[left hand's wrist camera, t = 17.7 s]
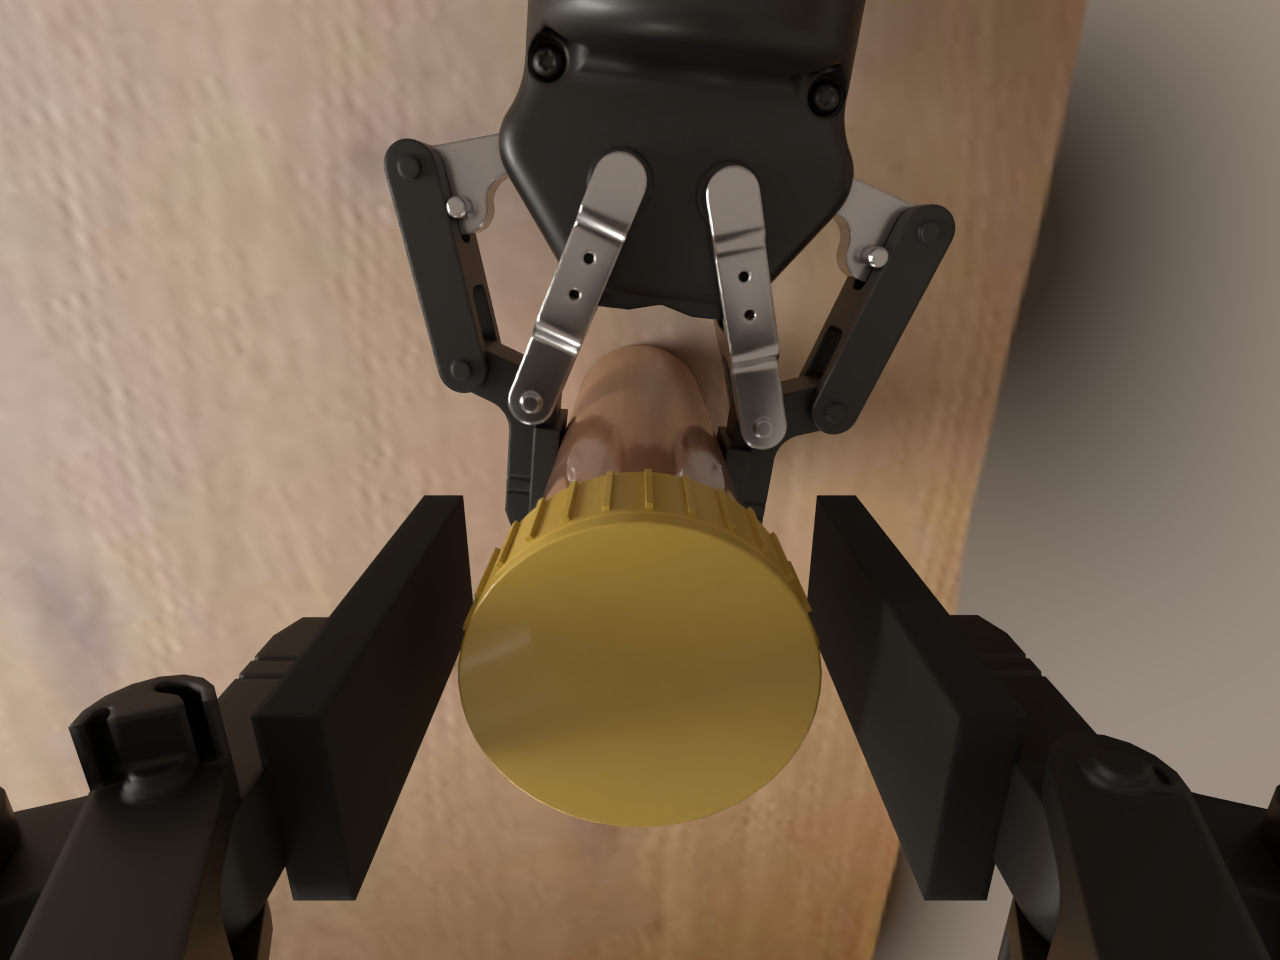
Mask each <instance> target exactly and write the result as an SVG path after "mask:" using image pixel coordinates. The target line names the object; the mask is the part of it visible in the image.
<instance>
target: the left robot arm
mask: <svg viewBox="0 0 1280 960" xmlns="http://www.w3.org/2000/svg"><path fill="white" fill-rule="evenodd" d="M807 600H808V602H809V604H810V607H811V609H812V611H811V612H808V615H809V617H810V620H811V622H812V624H813V627H814V629H815V632H816V634H817V636H818V639H819V649H820V652H821V654H822V657H823V659H824V661H825V664H826V666H827V669H828V671H829V673H830V676H831V678H832V680H833V683H834V685H835V688H836V690H837V692H838V695H839V697H840V700H841V702H842V704H843V707H844V709H845V712H846V714H847V716H848V719H849V721H850V723H851V726H852V728H853V731H854V733H855V735H856V738H857V740H858V743H859V745H860V747H861V750H862V752H863V754H864V757H865V759H866V762H867V764H868V766H869V769H870V771H871V774H872V776H873V778H874V781H875V783H876V786H877V788H878V790H879V793H880V795H881V797H882V800H883V802H884V805H885V807H886V809H887V812H888V814H889V817H890V819H891V821H892V824H893V826H894V829H895V831H896V833H897V836H898V838H899V840H900V843H901V845H902V848H903V850H904V852H905V855H906V857H907V859H908V862H909V864H910V867H911V869H912V871H913V874H914V876H915V879H916V881H917V883H918V886H919V888H920V891H921V893H922V895H923V898H924V900H987V897H988V892H989V888H990V884H991V880H992V875H993V871H994V867H995V864H996V866H997V867H998V869H999V871H1000V873H1001V875H1002V877H1003V878H1004V880H1005V882H1006V884H1007V885H1008V887H1009V889H1010V891H1011V893H1012V895H1013V899H1012V904H1011V907H1010V911H1009V915H1008V919H1007V923H1006V927H1005V931H1004V935H1003V939H1002V943H1001V947H1000V951H999V955H998V960H1280V785H1278V786H1277V787H1276V790H1275V792H1274V795H1273V797H1272V800H1271V802H1270V805H1269V807H1268V809H1264V808H1260V807H1255V806H1251V805H1246V804H1242V803H1237V802H1232V801H1228V800H1223V799H1219V798H1214V797H1210V796H1205V795H1201V794H1197V793H1193V792H1191V791H1190V789H1189V788H1188V786H1187V785H1186V784H1185V783H1184V781H1183V780H1182V779H1181V777H1180V776H1179V775H1178V773H1177V772H1176V771H1174V770H1173V769H1172V768H1170V767H1169V766H1168V765H1167V764H1165V763H1164V762H1163V761H1161V760H1160V759H1159V758H1158V757H1156V756H1155V755H1153V754H1151V753H1149V752H1147V751H1145V750H1143V749H1141V748H1139V747H1137V746H1135V745H1133V744H1131V743H1128V742H1125V741H1122V740H1118V739H1115V738H1112V737H1109V736H1105V735H1098V734H1096V733H1095V732H1094V731H1093V729H1092V728H1091V727H1090V726H1089V725H1088V724H1087V723H1086V722H1085V720H1084V719H1083V718H1082V717H1081V716H1080V715H1079V714H1078V713H1077V712H1076V710H1075V709H1074V708H1073V707H1072V706H1071V705H1070V704H1069V702H1068V701H1067V700H1066V699H1065V698H1064V697H1063V696H1062V695H1061V693H1060V692H1059V691H1058V690H1057V689H1056V688H1055V687H1054V686H1053V684H1052V683H1051V682H1050V681H1049V680H1048V679H1047V678H1046V677H1045V676H1042V675H1041V671H1040V670H1039V669H1038V668H1037V666H1036V665H1035V664H1034V663H1033V662H1032V661H1031V660H1030V659H1029V658H1028V659H1027V658H1026V654H1025V653H1024V652H1023V651H1022V650H1021V649H1020V647H1019V646H1018V645H1017V644H1016V643H1015V642H1014V641H1013V639H1012V638H1011V637H1010V636H1009V635H1008V634H1007V633H1006V632H1004V631H1003V630H1001V629H999V628H998V627H996V626H995V625H993V624H991V623H990V622H988V621H986V620H985V619H983V618H982V617H980V616H978V615H949V614H948V613H947V611H946V610H945V609H944V607H943V606H942V605H941V604H940V602H939V601H938V600H937V599H936V597H935V596H934V595H933V593H932V592H931V591H930V590H929V588H928V587H927V586H926V585H925V583H924V582H923V581H922V579H921V578H920V577H919V576H918V574H917V573H916V572H915V571H914V569H913V568H912V567H911V565H910V564H909V563H908V562H907V560H906V559H905V558H904V557H903V555H902V554H901V553H900V551H899V550H898V549H897V548H896V546H895V545H894V544H893V542H892V541H891V540H890V539H889V537H888V536H887V535H886V534H885V532H884V531H883V530H882V528H881V527H880V526H879V525H878V523H877V522H876V521H875V520H874V518H873V517H872V516H871V514H870V513H869V512H868V511H867V509H866V508H865V507H864V506H863V504H862V503H861V502H860V500H859V499H858V498H857V497H856V495H817V501H816V512H815V522H814V533H813V544H812V554H811V565H810V576H809V586H808V597H807ZM472 604H473V597H472V586H471V576H470V565H469V554H468V544H467V533H466V522H465V512H464V501H463V495H424V497H423V498H422V499H421V500H420V502H419V503H418V504H417V506H416V507H415V508H414V509H413V511H412V512H411V513H410V514H409V516H408V517H407V518H406V520H405V521H404V522H403V523H402V525H401V526H400V527H399V528H398V530H397V531H396V532H395V534H394V535H393V536H392V537H391V539H390V540H389V541H388V543H387V544H386V545H385V546H384V548H383V549H382V550H381V551H380V553H379V554H378V555H377V557H376V558H375V559H374V560H373V562H372V563H371V564H370V565H369V567H368V568H367V569H366V571H365V572H364V573H363V574H362V576H361V577H360V578H359V579H358V581H357V582H356V583H355V585H354V586H353V587H352V588H351V590H350V591H349V592H348V593H347V595H346V596H345V597H344V599H343V600H342V601H341V602H340V604H339V605H338V606H337V607H336V609H335V610H334V611H333V613H332V614H331V615H330V616H329V617H303V618H301V619H299V620H298V621H296V622H295V623H293V624H291V625H290V626H288V627H287V628H285V629H283V630H282V631H280V632H278V633H277V634H275V635H274V636H273V637H272V638H271V639H270V640H269V641H268V642H267V644H266V645H265V646H264V647H263V648H262V649H261V650H260V652H259V653H258V654H257V655H256V656H255V661H251V662H250V663H249V664H248V665H247V666H246V667H245V669H244V670H243V671H242V672H241V673H240V674H239V679H235V680H234V681H233V682H232V683H231V684H230V685H229V687H228V688H227V689H226V690H225V691H224V692H223V693H222V695H221V696H220V697H219V698H218V699H217V696H216V692H215V688H214V686H213V685H212V684H211V683H209V682H208V681H207V680H205V679H204V678H201V677H195V676H190V675H174V676H163V677H157V678H153V679H150V680H146V681H142V682H138V683H135V684H131V685H129V686H127V687H125V688H122V689H120V690H118V691H116V692H113V693H111V694H109V695H107V696H105V697H103V698H102V699H100V700H99V701H97V702H96V703H94V704H93V705H91V706H90V707H88V708H87V709H85V710H84V711H82V713H81V714H80V715H79V716H78V717H77V718H76V719H75V720H74V722H73V723H72V724H71V725H70V726H69V727H68V728H69V731H70V734H71V736H72V739H73V742H74V745H75V748H76V751H77V754H78V757H79V760H80V763H81V765H82V768H83V771H84V774H85V777H86V780H87V783H88V786H89V789H90V792H89V794H88V796H84V797H80V798H76V799H71V800H67V801H62V802H58V803H53V804H49V805H44V806H40V807H35V808H31V809H26V810H21V811H17V812H13V810H12V807H11V805H10V802H9V800H8V797H7V794H6V792H5V790H4V789H3V788H1V787H0V960H269V954H270V946H271V938H272V931H273V926H272V918H271V911H270V907H269V903H268V899H267V898H268V897H269V895H270V893H271V891H272V889H273V888H274V886H275V884H276V882H277V880H278V878H279V877H280V875H281V873H282V871H283V869H284V868H285V867H286V871H287V875H288V879H289V884H290V888H291V892H292V897H293V900H356V898H357V895H358V893H359V891H360V888H361V886H362V883H363V881H364V879H365V876H366V874H367V872H368V869H369V867H370V864H371V862H372V860H373V857H374V855H375V852H376V850H377V848H378V845H379V843H380V840H381V838H382V836H383V833H384V831H385V829H386V826H387V824H388V821H389V819H390V817H391V814H392V812H393V809H394V807H395V805H396V802H397V800H398V798H399V795H400V793H401V790H402V788H403V786H404V783H405V781H406V778H407V776H408V774H409V771H410V769H411V766H412V764H413V762H414V759H415V757H416V755H417V752H418V750H419V747H420V745H421V743H422V740H423V738H424V735H425V733H426V731H427V728H428V726H429V723H430V721H431V719H432V716H433V714H434V712H435V709H436V707H437V704H438V702H439V700H440V697H441V695H442V692H443V690H444V688H445V685H446V683H447V680H448V678H449V676H450V673H451V671H452V669H453V666H454V664H455V661H456V659H457V657H458V654H459V652H460V649H461V645H462V641H463V638H464V635H465V632H466V631H465V630H463V625H464V622H465V620H466V618H467V616H468V613H469V611H470V609H471V606H472Z"/></svg>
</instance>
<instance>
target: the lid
mask: <svg viewBox="0 0 1280 960" xmlns="http://www.w3.org/2000/svg"><path fill="white" fill-rule="evenodd" d="M474 596H475V600H474V602H473V604H472V606H471V609H470V611H469V613H468V616H467V618H466V620H465V622H464V625H463V630H465V631H466V632H465V635H464V638H463V641H462V645H461V651H460V657H459V667H458V683H459V690H460V697H461V703H462V706H463V709H464V713H465V716H466V719H467V722H468V725H469V727H470V729H471V731H472V733H473V735H474V737H475V739H476V741H477V743H478V744H479V746H480V747H481V749H482V750H483V752H484V753H485V755H486V756H487V757H488V759H489V760H490V761H491V762H492V763H493V764H494V766H495V767H496V768H497V769H498V770H499V771H500V772H501V773H502V774H503V775H504V776H505V777H506V778H507V779H509V780H510V781H511V782H512V783H513V784H514V785H515V786H517V787H518V788H519V789H521V790H522V791H524V792H525V793H527V794H528V795H530V796H531V797H532V798H534V799H536V800H538V801H540V802H542V803H543V804H545V805H547V806H549V807H551V808H553V809H556V810H558V811H561V812H563V813H565V814H568V815H570V816H574V817H577V818H581V819H584V820H588V821H591V822H596V823H602V824H608V825H614V826H627V827H656V826H664V825H672V824H679V823H683V822H688V821H692V820H696V819H700V818H703V817H706V816H709V815H712V814H714V813H717V812H720V811H722V810H724V809H726V808H728V807H731V806H733V805H735V804H737V803H739V802H740V801H742V800H744V799H745V798H747V797H749V796H750V795H752V794H753V793H755V792H757V791H758V790H759V789H760V788H762V787H763V786H764V785H765V784H767V783H768V782H769V781H770V780H772V779H773V778H774V777H775V776H776V775H777V774H778V773H779V772H780V771H781V770H782V769H783V768H784V767H785V766H786V765H787V763H788V762H789V761H790V759H791V758H792V757H793V755H794V754H795V753H796V751H797V750H798V749H799V747H800V745H801V744H802V742H803V740H804V738H805V737H806V735H807V733H808V731H809V729H810V726H811V723H812V721H813V718H814V716H815V713H816V709H817V705H818V700H819V696H820V690H821V675H822V670H821V659H820V650H819V639H818V636H817V634H816V632H815V629H814V627H813V624H812V622H811V620H810V617H809V615H808V612H811V611H812V609H811V607H810V604H809V602H808V600H807V597H806V595H805V593H804V591H803V588H802V586H801V584H800V582H799V579H798V577H797V575H796V573H795V570H794V568H793V566H792V563H791V561H787V558H786V556H785V554H784V551H783V549H782V547H781V544H780V542H779V540H778V538H777V536H776V534H775V533H774V532H773V533H771V534H769V532H768V531H767V530H766V529H765V528H764V526H763V525H762V524H761V523H760V522H759V520H758V519H757V517H756V514H755V512H754V510H753V509H752V508H751V507H749V508H748V509H745V508H744V507H743V506H742V505H740V504H739V503H737V502H736V501H735V500H733V499H732V498H730V497H729V496H727V495H726V493H725V490H724V489H722V488H720V487H718V489H717V490H716V489H714V488H712V487H710V486H708V485H705V484H702V483H699V482H696V481H694V480H691V479H690V476H689V475H686V474H683V477H679V476H674V475H670V474H663V473H652V469H645V472H624V473H617V474H614V471H608V472H607V474H606V475H604V476H600V477H596V478H593V479H589V480H586V481H583V482H580V483H577V481H576V480H575V481H573V482H571V483H570V486H569V487H568V488H566V489H564V490H562V491H560V492H558V493H556V494H555V495H553V496H551V497H550V498H548V499H546V500H545V499H544V497H543V498H541V499H540V500H538V503H537V505H536V508H535V509H533V510H532V511H531V512H530V513H528V514H527V515H526V516H525V518H524V519H523V520H522V521H521V522H520V523H519V522H518V521H517V520H515V522H514V523H513V524H512V526H511V528H510V531H509V533H508V535H507V538H506V540H505V542H504V544H503V546H502V548H501V550H500V549H498V548H495V550H494V552H493V554H492V556H491V559H490V561H489V563H488V566H487V568H486V570H485V572H484V575H483V577H482V579H481V581H480V584H479V586H478V588H477V590H476V593H475V595H474Z"/></svg>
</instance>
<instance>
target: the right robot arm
mask: <svg viewBox="0 0 1280 960" xmlns="http://www.w3.org/2000/svg"><path fill="white" fill-rule="evenodd" d="M864 6H865V0H528V16H527V37H526V56H525V67H524V73H523V78H522V81H521V85H520V88H519V91H518V93H517V95H516V98H515V100H514V102H513V104H512V105H511V107H510V109H509V110H508V112H507V113H506V115H505V117H504V119H503V122H502V124H501V128H500V133H499V134H494V135H489V136H483V137H478V138H473V139H467V140H462V141H457V142H451V143H446V144H441V145H435V146H431V145H428V144H425V143H422V142H419V141H417V140H414V139H401V140H398V141H396V142H395V143H393V144H392V145H391V146H390V147H389V149H388V150H387V152H386V155H385V158H384V169H385V174H386V177H387V181H388V185H389V189H390V192H391V196H392V200H393V204H394V207H395V211H396V215H397V218H398V222H399V226H400V230H401V233H402V237H403V241H404V245H405V248H406V252H407V256H408V259H409V263H410V267H411V271H412V274H413V278H414V282H415V286H416V289H417V293H418V297H419V300H420V304H421V308H422V312H423V315H424V319H425V323H426V327H427V330H428V334H429V338H430V341H431V345H432V349H433V353H434V356H435V360H436V364H437V368H438V371H439V375H440V377H441V379H442V381H443V382H444V384H445V385H446V386H447V387H449V388H450V389H452V390H454V391H456V392H460V393H469V392H472V393H474V394H476V395H478V396H480V397H482V398H485V399H487V400H489V401H491V402H493V403H495V404H496V405H497V406H499V407H500V408H501V409H502V411H503V412H504V413H505V415H506V417H507V419H508V422H509V448H508V468H507V488H506V489H507V492H506V507H505V510H506V513H507V516H508V519H509V521H510V524H511V526H512V524H513V523H514V522H515V520H517V521H518V522H519V523H520V522H521V521H522V520H523V519H524V518H525V516H526V515H527V514H528V513H530V512H531V511H532V510H533V509H535V508H536V505H537V503H538V500H540V499H541V498H542V496H543V493H544V491H545V488H546V485H547V482H548V479H549V476H550V474H551V471H552V468H553V465H554V462H555V459H556V457H557V454H558V451H559V448H560V445H561V443H562V440H563V437H564V434H565V431H566V427H567V415H568V409H561V397H562V390H563V388H564V386H565V383H566V381H567V379H568V376H569V374H570V372H571V369H572V367H573V364H574V362H575V360H576V357H577V355H578V353H579V350H580V348H581V345H582V343H583V341H584V338H585V336H586V334H587V331H588V329H589V327H590V324H591V322H592V320H593V317H594V315H595V312H596V310H597V308H598V306H603V307H612V308H620V309H635V308H641V307H647V306H654V305H664V306H666V307H669V308H671V309H674V310H676V311H679V312H681V313H684V314H686V315H689V316H691V317H699V318H708V319H714V324H715V330H716V336H717V341H718V345H719V349H720V353H721V358H722V364H723V371H724V377H725V383H726V389H727V395H728V401H729V407H730V409H729V416H728V422H727V427H720V426H718V433H717V440H718V443H719V446H720V449H721V452H722V454H723V457H724V460H725V463H726V466H727V469H728V471H729V474H730V477H731V480H732V483H733V486H734V488H735V491H736V494H737V497H738V500H739V503H740V505H742V506H743V507H744V508H745V509H748V508H749V507H751V508H752V509H753V510H754V512H755V514H756V517H757V519H758V520H759V522H760V523H761V524H762V521H763V516H764V511H765V503H766V500H767V495H768V489H769V484H770V478H771V473H772V468H773V462H774V458H775V455H776V452H777V451H778V449H779V447H780V446H781V445H782V444H783V443H784V442H785V441H787V440H788V439H790V438H792V437H795V436H798V435H802V434H807V433H811V432H815V431H820V430H821V431H822V432H824V433H827V434H839V433H842V432H845V431H847V430H848V429H849V428H851V427H852V426H853V424H854V423H855V421H856V420H857V418H858V416H859V414H860V412H861V410H862V408H863V407H864V405H865V403H866V401H867V399H868V397H869V395H870V393H871V392H872V390H873V388H874V386H875V384H876V382H877V380H878V378H879V377H880V375H881V373H882V371H883V369H884V367H885V365H886V363H887V362H888V360H889V358H890V356H891V354H892V352H893V350H894V348H895V347H896V345H897V343H898V341H899V339H900V337H901V335H902V333H903V332H904V330H905V328H906V326H907V324H908V322H909V320H910V318H911V317H912V315H913V313H914V311H915V309H916V307H917V305H918V303H919V302H920V300H921V298H922V296H923V294H924V292H925V290H926V288H927V287H928V285H929V283H930V281H931V279H932V277H933V275H934V273H935V272H936V270H937V268H938V266H939V264H940V262H941V260H942V258H943V257H944V255H945V253H946V251H947V249H948V247H949V245H950V243H951V241H952V239H953V237H954V233H955V223H954V219H953V216H952V215H951V213H950V212H949V211H948V210H947V209H946V208H944V207H942V206H940V205H934V204H931V205H927V204H910V203H908V202H905V201H903V200H901V199H899V198H897V197H895V196H893V195H890V194H888V193H886V192H884V191H882V190H880V189H878V188H875V187H873V186H871V185H869V184H867V183H865V182H862V181H860V180H858V179H856V178H854V177H853V175H854V168H853V160H852V156H851V153H850V150H849V147H848V144H847V139H846V134H845V124H844V115H845V105H846V99H847V94H848V90H849V85H850V79H851V74H852V69H853V64H854V58H855V53H856V48H857V43H858V37H859V32H860V27H861V21H862V16H863V11H864ZM508 178H510V179H511V181H512V183H513V184H514V186H515V188H516V190H517V191H518V193H519V195H520V197H521V198H522V200H523V202H524V203H525V205H526V207H527V209H528V210H529V212H530V214H531V215H532V217H533V219H534V221H535V222H536V224H537V226H538V228H539V229H540V231H541V233H542V234H543V236H544V238H545V240H546V241H547V243H548V245H549V246H550V248H551V250H552V252H553V253H554V255H555V257H556V258H557V260H558V262H559V264H558V266H557V269H556V271H555V274H554V276H553V279H552V282H551V284H550V287H549V289H548V292H547V294H546V297H545V299H544V302H543V304H542V307H541V309H540V312H539V315H538V317H537V320H536V323H535V326H534V330H533V334H532V337H531V339H530V342H529V344H528V347H527V349H526V352H525V354H524V355H523V354H521V353H519V352H517V351H515V350H513V349H511V348H509V347H507V346H505V345H503V344H501V340H500V336H499V332H498V328H497V323H496V319H495V315H494V310H493V306H492V302H491V298H490V293H489V289H488V285H487V281H486V276H485V272H484V268H483V263H482V259H481V255H480V251H479V246H478V242H477V238H476V234H475V233H478V232H481V231H483V230H485V229H486V228H487V227H488V226H489V225H490V224H491V222H492V220H493V217H494V196H495V192H496V190H497V188H498V186H499V185H500V184H501V183H502V182H503V181H504V180H506V179H508ZM832 218H833V219H834V220H835V221H836V223H837V224H838V226H839V229H840V234H841V239H840V244H839V247H838V250H837V264H838V266H839V268H840V270H841V271H842V272H843V273H844V274H845V275H847V276H848V278H847V280H846V282H845V284H844V286H843V288H842V290H841V292H840V294H839V296H838V298H837V300H836V302H835V304H834V306H833V308H832V310H831V312H830V314H829V316H828V318H827V320H826V322H825V324H824V326H823V328H822V330H821V332H820V334H819V336H818V339H817V341H816V343H815V345H814V347H813V349H812V351H811V353H810V355H809V357H808V359H807V361H806V363H805V365H804V367H803V369H802V371H801V373H800V375H799V377H798V378H794V379H789V380H785V381H781V379H780V372H779V364H778V359H779V341H778V333H777V326H776V318H775V311H774V304H773V296H772V289H771V283H772V282H773V281H774V280H775V279H776V277H777V276H778V275H779V274H780V273H781V272H782V271H783V270H784V269H785V268H786V267H787V266H788V265H789V264H790V263H791V262H792V261H793V259H794V258H795V257H796V256H797V255H798V254H799V253H800V252H801V251H802V250H803V249H804V248H805V247H806V246H807V245H808V244H809V242H810V241H811V240H812V239H813V238H814V237H815V236H816V235H817V234H818V233H819V232H820V231H821V230H822V229H823V228H824V227H825V226H826V224H827V223H828V222H829V221H830V220H831V219H832Z"/></svg>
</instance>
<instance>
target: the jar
mask: <svg viewBox="0 0 1280 960" xmlns="http://www.w3.org/2000/svg"><path fill="white" fill-rule="evenodd" d="M645 469H652V473H663V474H670V475H674V476H679V477H683V474H686V475H689V476H690V479H691V480H694V481H696V482H699V483H702V484H705V485H708V486H710V487H712V488H714V489H716V490H717V489H718V487H720V488H722V489H724V490H725V493H726V495H727V496H729V497H730V498H732V499H733V500H735V501H736V502H737V503H739V500H738V497H737V494H736V491H735V488H734V486H733V483H732V480H731V477H730V474H729V471H728V469H727V466H726V463H725V460H724V457H723V454H722V452H721V449H720V446H719V443H718V440H717V437H716V435H715V432H714V429H713V426H712V423H711V420H710V417H709V415H708V412H707V409H706V406H705V403H704V400H703V398H702V395H701V392H700V389H699V386H698V383H697V381H696V379H695V377H694V375H693V374H692V372H691V371H690V369H689V368H688V367H687V366H686V365H685V364H684V362H682V361H681V360H680V359H679V358H678V357H676V356H675V355H673V354H672V353H670V352H668V351H666V350H663V349H661V348H657V347H654V346H648V345H633V346H627V347H622V348H620V349H617V350H614V351H612V352H610V353H609V354H607V355H605V356H604V357H603V358H601V359H600V360H599V361H598V362H597V363H596V364H595V365H594V366H593V367H592V368H591V369H590V371H589V372H588V374H587V375H586V377H585V379H584V381H583V384H582V386H581V389H580V392H579V395H578V397H577V400H576V403H575V406H574V409H573V411H572V414H571V417H570V420H569V423H568V426H567V428H566V431H565V434H564V437H563V440H562V443H561V445H560V448H559V451H558V454H557V457H556V459H555V462H554V465H553V468H552V471H551V474H550V476H549V479H548V482H547V485H546V488H545V491H544V493H543V496H542V498H543V497H544V499H545V500H546V499H548V498H550V497H551V496H553V495H555V494H556V493H558V492H560V491H562V490H564V489H566V488H568V487H569V486H570V483H571V482H573V481H575V480H576V481H577V483H580V482H583V481H586V480H589V479H593V478H596V477H600V476H604V475H606V474H607V472H608V471H614V474H617V473H624V472H645ZM739 504H740V503H739Z"/></svg>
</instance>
